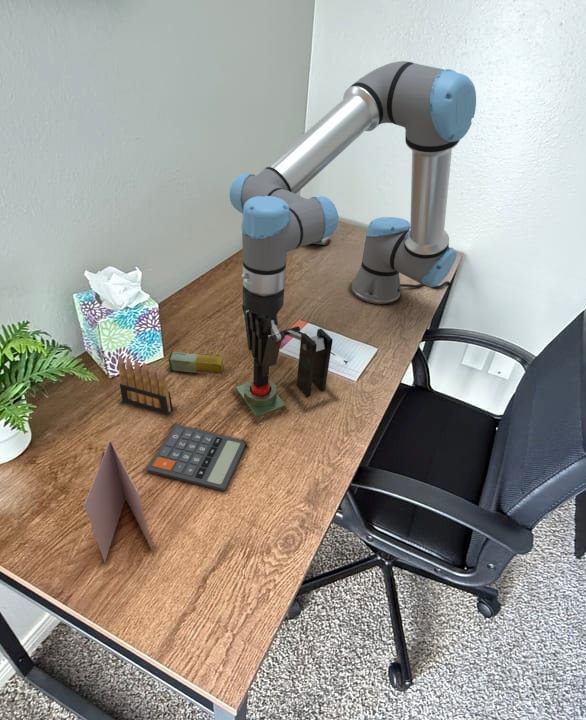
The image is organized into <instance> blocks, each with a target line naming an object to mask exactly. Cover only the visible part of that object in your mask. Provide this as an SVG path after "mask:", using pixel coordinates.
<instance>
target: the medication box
mask: <svg viewBox="0 0 586 720" xmlns="http://www.w3.org/2000/svg"><path fill="white" fill-rule="evenodd" d="M168 363H169V368H170V371H175V372H185V373H193V374H194V373H195V374H200V372H199V371H203V372H211V373H219V374H221V373H222V372H223V370H224V360H223V356H217V355H206V354H196V353H189V352H187V353H186V352H180V351H179V352H177V351H170V353H169V355H168Z"/></svg>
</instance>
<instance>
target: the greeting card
mask: <svg viewBox="0 0 586 720" xmlns="http://www.w3.org/2000/svg"><path fill="white" fill-rule="evenodd" d="M125 502H126V503H127V504H128V506H129V507H130V510H131V512H132V514H133V516H134V518H135V519H136V522H137V524H138V526H139V527H140V530H141V532H142V534H143V536H144V538H145V539H146V541H147V544H148V545H149V548H150V549H151V550H152V548H153V547H152V544H151V540H150V536H149V530H148V528H147V523H146V519H145V516H144V509H143V506H142V502H141V498H140V493H139V491H138V489H137V488H136V486H135V484H134V482H133V480H132V479H131V476H130V474H129V472H128V471H127V469H126V466H125V465H124V463H123V461H122V460H121V458H120V456H119V453H118V452H117V450H116V448H115V447H114V444H113V443H112V440H109V442H108V444H107V446H106V449H105V451H104V452H102V456H101V458H100V461H99V465H98V467H97V471H96V473H95V476H94V479H93V481H92V484H91V487H90V488H89V491H88V494H87V496H86V499H85V502H84V503H83V507H84V510H85V512H86V516H87V518H88V521H89V523H90V527H91V530H92V532H93V534H94V537H95V539H96V542H97V545H98V548H99V550H100V553H101V556H102V559H103V561H104V562H106V560H107V557H108V553H109V551H110V548H111V545H112V542H113V538H114V536H115V532H116V529H117V527H118V523H119V521H120V517H121V513H122V511H123V507H124V504H125Z"/></svg>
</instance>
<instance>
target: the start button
mask: <svg viewBox="0 0 586 720" xmlns="http://www.w3.org/2000/svg"><path fill="white" fill-rule="evenodd" d="M251 393H252V394H254V395H256V396H265V395H268V394H269V393H270V383H269V381H268V384H266V385H263V386H260V387H256V386H255V385H254V381H253V382H252V383H251Z"/></svg>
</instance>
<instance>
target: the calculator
mask: <svg viewBox="0 0 586 720" xmlns="http://www.w3.org/2000/svg"><path fill="white" fill-rule="evenodd" d="M246 447H247V442H246V441H245V440H243V439H239V438H235V437H229V436H226V435H223V434H218V433H214V432H209V431H205V430H203V429H202V430H201V429H198V428H193V427H189V426H185V425H181V424H175V425H174V426H173V427H172V429H171V430H170V432H169V434H168V435H167V437H166V438H165V440H164V442H163V443H162V444H161V445H160V447H159V449H158V450H157V452H156V454H155V455H154V457H153V458H152V460H151V461H150V463H149V465H148V466H147V467H146V468H147V470H146V471H147V473H150V474H154V475H158V476H161V477H167V478H170V479H174V480H177V481H181V482H185V483H189V484H194V485H198V486H201V487H206V488H209V489H212V490H217V491H221V492H225V491H226V490H227V488H228V486H229V484H230V481H231V479H232V477H233V475H234V473H235V471H236V468H237V466H238V465H239V462H240V460H241V457H242V455H243V453H244V451H245V449H246Z"/></svg>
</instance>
